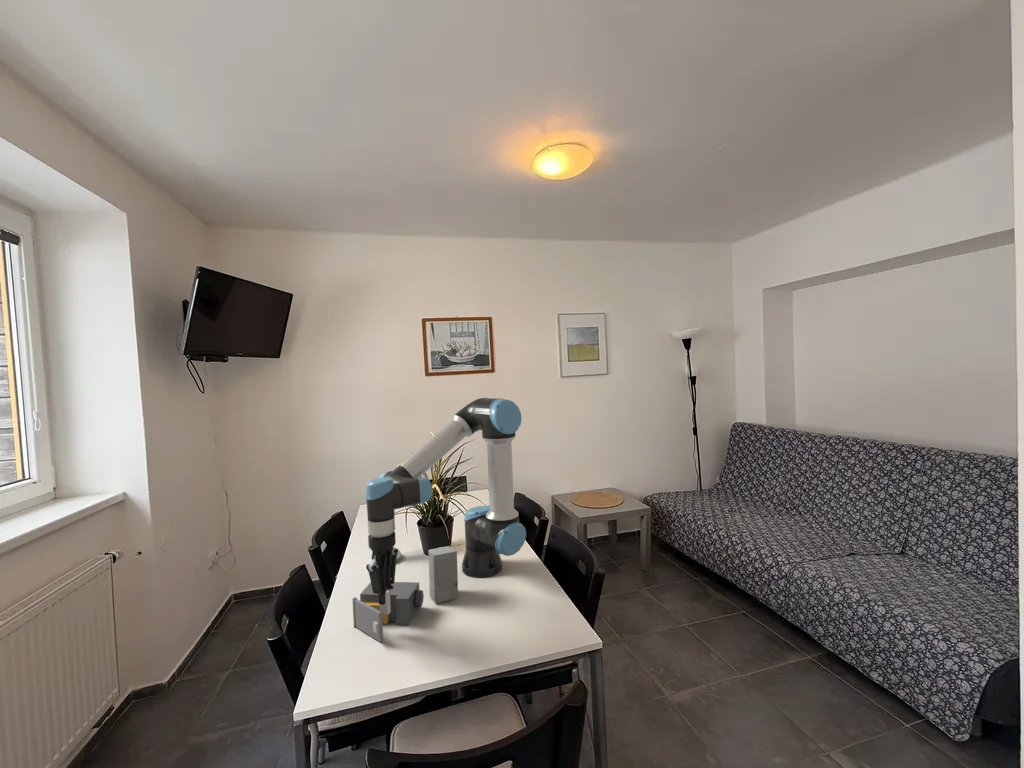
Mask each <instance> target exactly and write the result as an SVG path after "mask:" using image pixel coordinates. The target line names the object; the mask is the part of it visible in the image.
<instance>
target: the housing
mask: <svg viewBox="0 0 1024 768" xmlns="http://www.w3.org/2000/svg"><path fill="white" fill-rule="evenodd" d="M391 586H394V587H393V589H390V608H391V612H390V613H389V614H388V615H386V614H382V625H388V624H389V622H391V621H392V622H396V626H410V625H411V624H412V623H413V620H414V618H415V617H416V615H417V613H418V612H419V610H420V609H421V608H422V607H423V603H424V596H425V595H424V591H423V590H422V589H420V582H416V581H414V582H413V581H411V582H410V581H406V582H405V581H394V584H392V585H391ZM357 599H358V598H357V597H355V596H353V597H352V598H351V600H352V601H351V602H352V615H353V617H352V618H353V628H355V629H356V628H357V627H356V616H355V600H357ZM359 600H360V601H362V602H364V603H366V604H368V605H370V606H371V607H373V608H375V609H377V610H379V611H380V609H379V595H378V594H374V593H373V590H372V585H371V581H370V582H369V583H368V585H367V586H366V587H365V588H364V589H363V590H362V591H361V592H360V593H359ZM357 629H358V628H357Z"/></svg>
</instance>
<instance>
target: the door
mask: <svg viewBox="0 0 1024 768" xmlns="http://www.w3.org/2000/svg"><path fill="white" fill-rule="evenodd" d="M355 616H356V627H357V629H358V630H360V631H362V632H363V633H365V634H367V635H368V636H370V637H372V638H373V639H375V640H376V641H378V642H381V641H383V640H384V632H383V630H384V629H383V624H382V612H381V611H379V610H377V609H375V608H373V607H371V606H370V605H368V604H366V603H364V602H362V601H360V599H358V598H357V600H355Z"/></svg>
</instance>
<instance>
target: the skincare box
mask: <svg viewBox="0 0 1024 768" xmlns="http://www.w3.org/2000/svg"><path fill="white" fill-rule="evenodd" d="M457 552H458V551H457V550H456V549H455V548H454V547H453V546H452V545H447V546H441V547H440V546H439V547H437V548H431V549H428V577H429V579H428V580H429V581H428V582H429V583H428V584H429V585H428V586H429V597H430V598H431V599H432V602H433V603H434V604H435V605H438V604H441V603H444V602H448V601H451V600H455V599H458V598H459V579H458V578H459V576H458V574H459V573H458V553H457Z"/></svg>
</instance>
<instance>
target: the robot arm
mask: <svg viewBox="0 0 1024 768" xmlns="http://www.w3.org/2000/svg"><path fill="white" fill-rule="evenodd" d="M521 424H522V413H521V410H520V408H519V406H518V405H517V404H516V403H515V402H514V401H512V400H510V399H505V398H501V397H500V398H499V397H498V398H493V397H492V398H489V397H480V398H477V399H474V400H473V401H471V402H469V403H468V404H466V405H465V406H464V407H463V408H461V409H460V410H458V411H457V413H455V414H453V416H452V417H451V421H450V422H449V423H448V424H446V425H445V426H444V427H443V428H442V429H440V430H439V431H438V432H436V434H435V435H433V436H432V437H431V438H430V439H429V440H428V441H426V442H424V444H423V445H422V446H421V447H419V448H418V449H417V450H416V451H415V452H413V453H412V454H411V455H410V456H409V457H408V458H407V459H405V460H404V461H403V462H402V463H400V465H398V466H397V467H396V468H395V469H394V470H388V471H384V472H383V473H381V475H380V476H379V477H376V478H373V479H371V480H370V479H369V481H367V484H366V489H365V491H366V492H365V493H366V494H365V499H366V507H367V508H366V511H367V512H366V513H367V514H366V515H367V532H368V535H367V538H368V539H367V540H368V542H367V543H368V548H369V549H370V550H371V552H372V553H371V562H370V563H369V564H366V566H365V568H366V570H367V572H368V575H369V580H370V582H371V585H372V590H373V593H374V594H378V595H379V609H380V611H381V612H382V614H386V615H388V614H389V613H390V612H391V608H390V589H393V587H394V586H391V585H392V584H394V582H396V581H395V580H396V568H397V566H396V565H397V560H396V557H397V553H398V550H399V549H398V548H397V549H395V548H396V547H395V546H396V531H395V530H396V519H395V510H398V509H404V508H407V507H412V506H416V505H421V504H424V503H427V502H429V501H430V500H431V499H432V498H433V486H432V485H433V484H432V483H431V481H430V480H429V478H428V477H422V476H423V475H424V474H425V473H426V472H427V471H429V470H430V469H431V468H433V466H434V465H435V464H437V463H438V462H439V461H440V460H441V459H442V458H443V457H444V456H446V455H447V454H448V453H449V452H450V451H452V449H453V448H455V447H456V446H457V444H459V443H460V442H461V441H462V440H464V439H465V438H466V437H469V438H470V437H471V436H472V435H474V433H476V432H478V431H481V433H482V435H481V436H482V440H484V441H485V443H486V451H487V452H486V454H487V472H488V473H487V475H488V497H489V498H488V500H489V505H478V506H474V507H471V508H468V509H467V510H466V511H465V512H464V520H463V522H464V535H465V536H464V537H465V538H464V539H465V552H464V555H463V559H462V563H461V570H462V573H463V574H464V575H466V576H468V577H470V578H471V577H472V578H486V577H493V576H494V575H497V574H498V573H500V572H501V571H502V570H503V561H502V558H501V555H504V556H506V557H510V556H514V555H515V554H517V553H518V552H519V551H520V550H521V548H522V547H523V546H524V544H525V542H526V539H527V530H526V527H525V525H523V524H522V523H520V517H519V516H520V515H519V511H518V510H517V509H515V497H514V472H513V451H512V450H513V449H512V447H513V446H512V445H513V444H512V441H514V439H515V438H516V432H517V431H518V430H519V429H520V426H521ZM393 546H394V547H395V548H393Z"/></svg>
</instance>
